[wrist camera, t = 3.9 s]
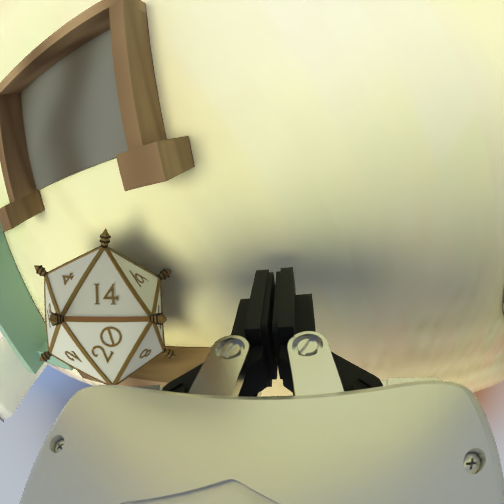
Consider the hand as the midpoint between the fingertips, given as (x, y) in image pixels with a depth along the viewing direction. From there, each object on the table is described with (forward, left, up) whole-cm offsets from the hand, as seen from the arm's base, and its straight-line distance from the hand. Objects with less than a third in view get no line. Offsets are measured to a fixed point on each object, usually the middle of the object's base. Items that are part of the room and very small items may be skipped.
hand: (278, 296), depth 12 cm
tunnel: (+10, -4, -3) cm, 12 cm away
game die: (+9, 0, -3) cm, 10 cm away
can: (+30, +8, -3) cm, 32 cm away
